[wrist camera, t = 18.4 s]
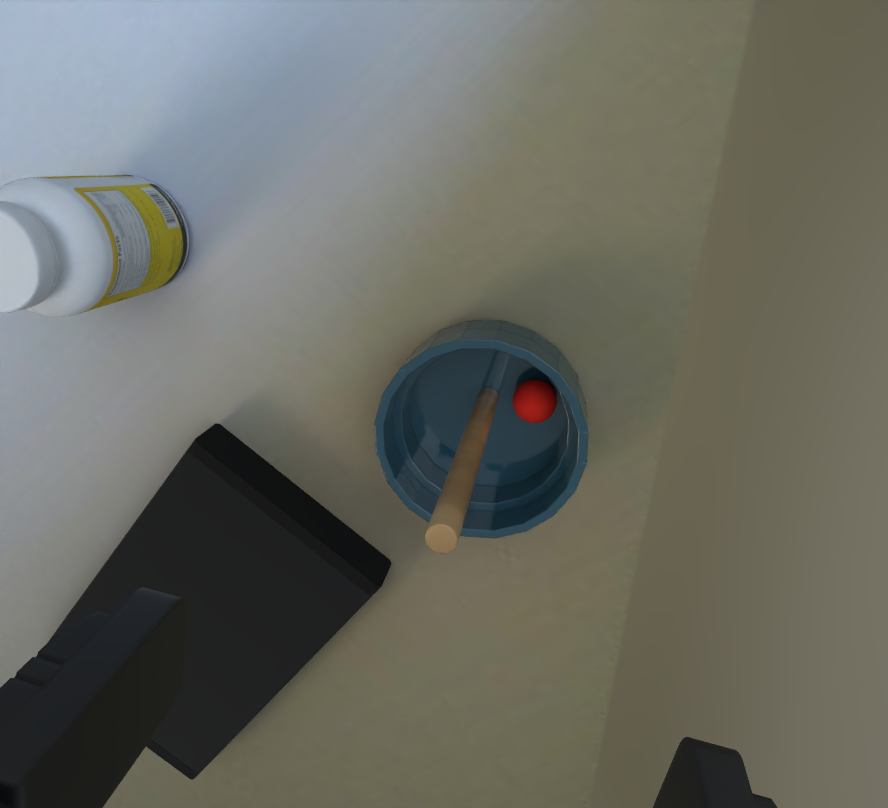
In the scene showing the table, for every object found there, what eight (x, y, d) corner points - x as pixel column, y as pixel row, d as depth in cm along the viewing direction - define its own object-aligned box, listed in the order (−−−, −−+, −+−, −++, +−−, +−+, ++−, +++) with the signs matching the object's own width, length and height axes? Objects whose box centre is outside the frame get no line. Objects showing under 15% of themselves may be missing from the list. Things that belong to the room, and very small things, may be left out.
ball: (529, 404, 36) (567, 389, 36) (505, 378, 37) (542, 365, 38) (527, 437, 37) (563, 423, 38) (503, 412, 39) (539, 398, 40)
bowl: (369, 350, 40) (344, 374, 36) (553, 292, 37) (551, 311, 33) (432, 513, 43) (416, 556, 38) (607, 472, 40) (612, 512, 36)
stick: (475, 389, 39) (420, 526, 24) (496, 384, 39) (452, 521, 24) (480, 408, 40) (429, 556, 25) (501, 404, 39) (461, 551, 24)
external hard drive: (392, 561, 45) (380, 588, 42) (212, 748, 53) (192, 781, 50) (217, 422, 43) (193, 440, 41) (61, 635, 52) (32, 662, 49)
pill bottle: (72, 237, 41) (-105, 264, 30) (125, 149, 39) (-46, 144, 28) (159, 311, 42) (16, 363, 31) (215, 228, 39) (82, 253, 29)
